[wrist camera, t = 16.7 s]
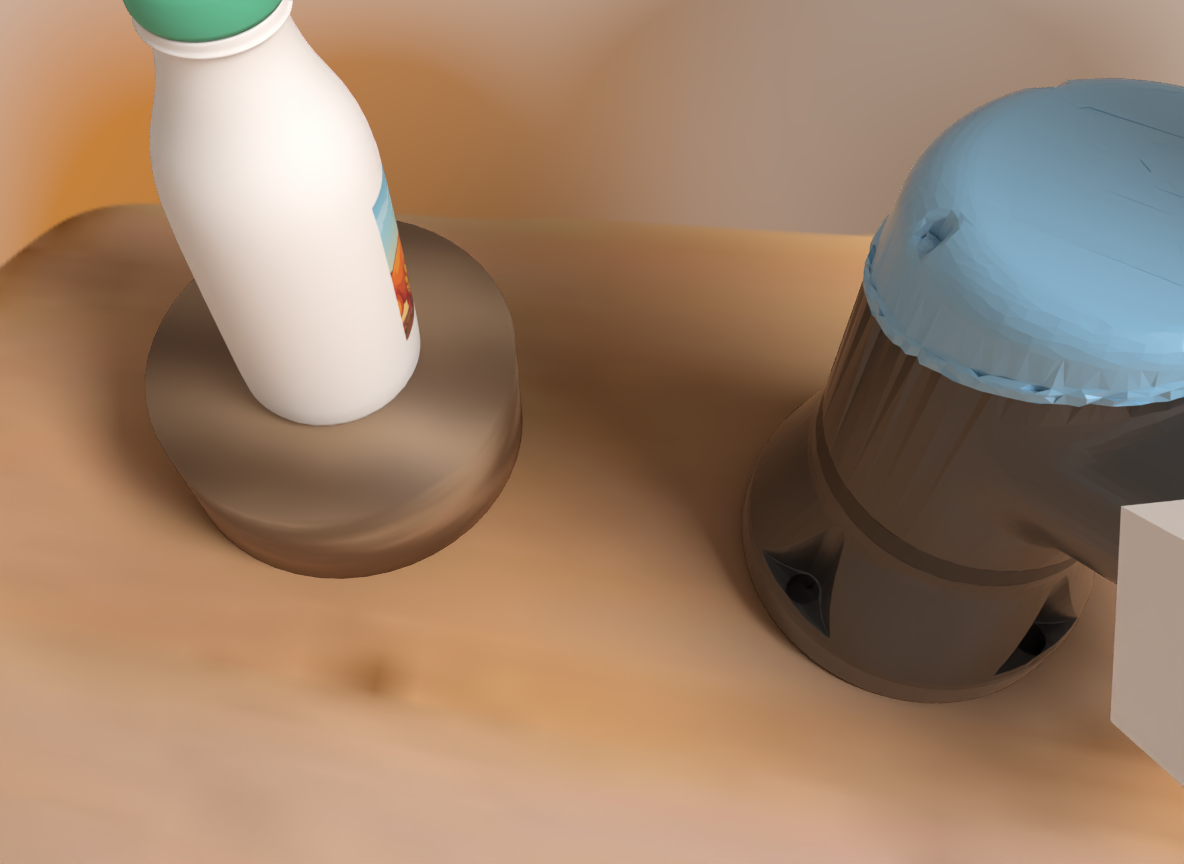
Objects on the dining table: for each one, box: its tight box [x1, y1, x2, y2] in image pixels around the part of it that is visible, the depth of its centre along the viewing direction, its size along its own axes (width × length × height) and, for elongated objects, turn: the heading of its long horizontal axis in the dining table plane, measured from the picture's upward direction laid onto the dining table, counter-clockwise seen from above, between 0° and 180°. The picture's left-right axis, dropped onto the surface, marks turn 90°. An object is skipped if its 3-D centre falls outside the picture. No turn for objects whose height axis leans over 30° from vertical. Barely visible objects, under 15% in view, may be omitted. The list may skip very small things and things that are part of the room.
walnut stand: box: [145, 221, 522, 579], centre depth 49 cm, size 16×16×6 cm
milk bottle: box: [123, 0, 420, 426], centre depth 38 cm, size 8×8×20 cm
